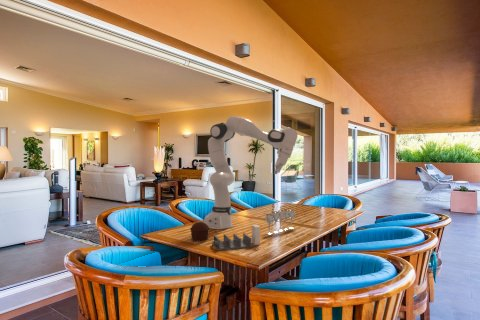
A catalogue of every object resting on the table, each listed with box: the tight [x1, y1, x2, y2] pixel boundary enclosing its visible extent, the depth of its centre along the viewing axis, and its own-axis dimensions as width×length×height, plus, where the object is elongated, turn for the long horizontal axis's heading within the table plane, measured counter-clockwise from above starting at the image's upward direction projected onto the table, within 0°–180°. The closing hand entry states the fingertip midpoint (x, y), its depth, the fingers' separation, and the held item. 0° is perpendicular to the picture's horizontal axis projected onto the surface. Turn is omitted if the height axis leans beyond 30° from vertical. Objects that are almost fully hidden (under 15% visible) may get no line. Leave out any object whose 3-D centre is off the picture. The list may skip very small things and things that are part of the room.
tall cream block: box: [251, 224, 261, 246], centre depth 176 cm, size 3×5×10 cm, turn 17°
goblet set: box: [265, 209, 296, 235], centre depth 207 cm, size 28×6×13 cm, turn 133°
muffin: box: [189, 221, 210, 242], centre depth 184 cm, size 12×11×10 cm
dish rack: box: [212, 232, 253, 252], centre depth 172 cm, size 19×14×5 cm
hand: (276, 173), depth 193 cm, fingers open, 8 cm apart
